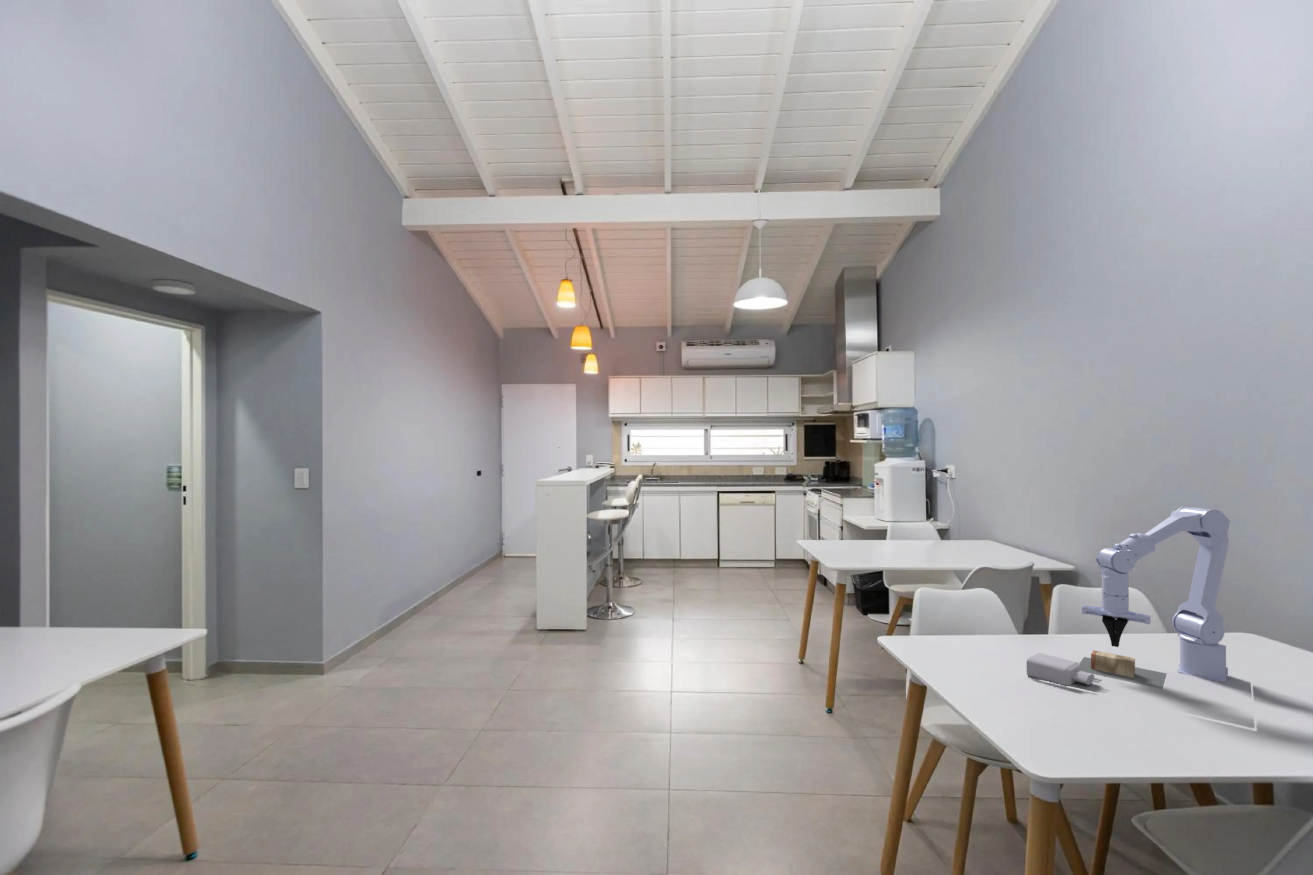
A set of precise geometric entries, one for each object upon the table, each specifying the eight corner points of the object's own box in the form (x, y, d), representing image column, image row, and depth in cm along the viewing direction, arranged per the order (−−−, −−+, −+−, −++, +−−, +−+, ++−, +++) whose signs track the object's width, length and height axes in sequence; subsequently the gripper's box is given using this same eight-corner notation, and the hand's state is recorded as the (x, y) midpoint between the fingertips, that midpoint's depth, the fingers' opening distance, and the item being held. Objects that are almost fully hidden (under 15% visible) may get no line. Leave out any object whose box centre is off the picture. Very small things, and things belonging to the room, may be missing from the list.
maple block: (1135, 658, 161) (1093, 650, 167) (1133, 661, 158) (1090, 653, 164) (1135, 673, 161) (1093, 664, 167) (1133, 677, 158) (1091, 668, 164)
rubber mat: (1166, 675, 161) (1166, 673, 161) (1162, 690, 151) (1162, 688, 151) (1084, 658, 174) (1084, 656, 174) (1074, 671, 163) (1074, 669, 163)
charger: (1093, 695, 148) (1026, 676, 160) (1107, 687, 154) (1041, 669, 166) (1093, 676, 148) (1026, 658, 160) (1107, 668, 154) (1041, 651, 166)
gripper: (1079, 592, 165) (1079, 642, 164) (1148, 601, 155) (1148, 655, 155) (1084, 587, 170) (1084, 637, 170) (1151, 596, 160) (1151, 649, 160)
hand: (1115, 645), depth 162 cm, fingers closed
